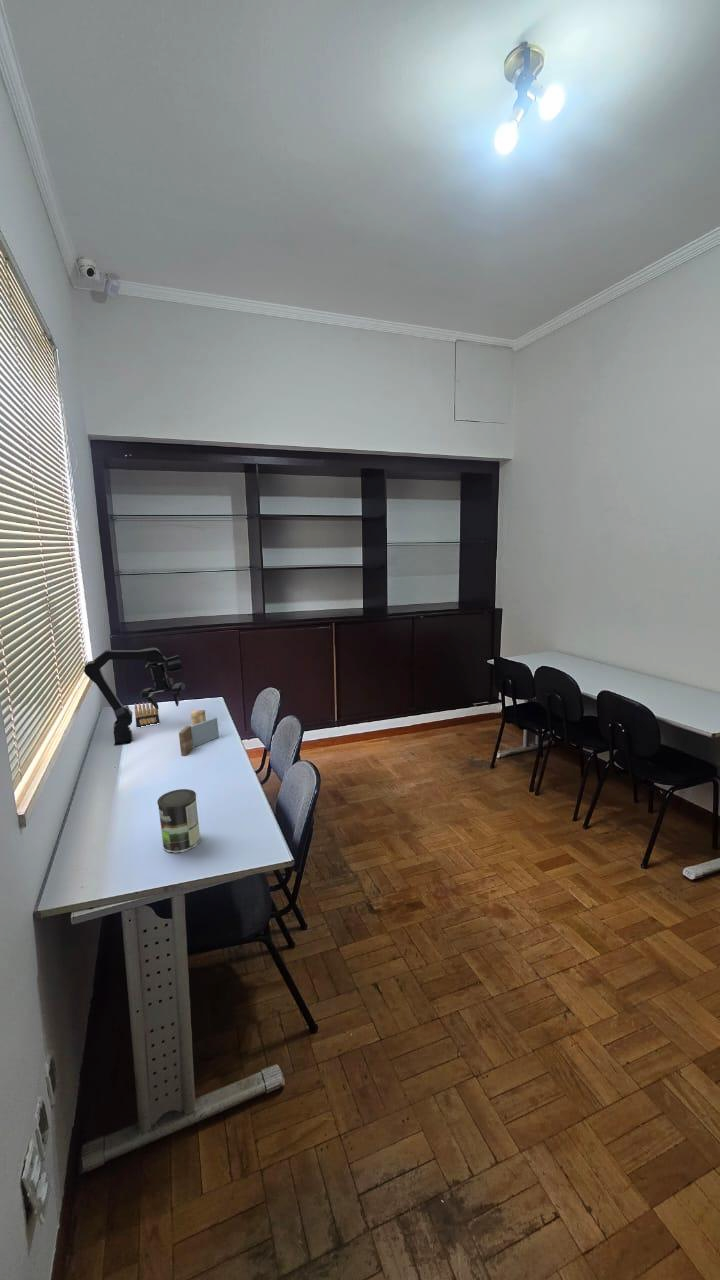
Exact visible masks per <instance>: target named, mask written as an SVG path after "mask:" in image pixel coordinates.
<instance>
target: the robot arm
mask: <svg viewBox="0 0 720 1280" xmlns="http://www.w3.org/2000/svg"><path fill="white" fill-rule="evenodd" d="M110 660H113V661H114V660H122V661H123V660H125V661H126V660H131V661H132V660H138V661H139V660H140V661H143V662H147V664H146V665H145V669H147V670H148V669H150V671H151V672H150V673H151V676H152V680H151V681H152V683H154V687H155V688H154V687H147V688H146V687H145V688H144V689H142V690H141V691H140V696H141V698H143V699H144V700H147V702H148V703H150V702H151V703H152V704H153V708H154V707H155V708H156V709H157V710H158V711H159V704H158V701H157V697H156V694H159V693H165V692H173V693H172V696H173V699H174V700H173V701H174V703H175V706H176V707H178V706H179V704H180V695H181V693H182V692H183V691H184V690H185V689H186V683H184V682H178V683H177V682H176V683H175V684H174V678H173V677H169V676H168V674H167V673H166V672H169V673H174V672H178V671H179V672H180V671H182V670H183V666H182V663H181V660H180V657H179V655H174V656H172V657H168V658H166V656H164V655H163V654H162V653H161V651H160V649H158V648H157V647H150V648H149V647H148V648H144V649H135V650H132V649H127V650H126V649H124V650H123V649H117V650H116V649H105V650H104V651H102V653H100V654H99V656H97V657H96V658H95V659H94V660H91V661H88V662H86V664H85V665H84V668H83V671H84V674H85V675H86V676H87V678H89V680H91V681H92V682H93V683H95V685H96V686H97V687H98V689H99V691H100V692H101V694H102V695H103V697H104V698H105V699H106V701H107V702H108V705H109V706H110V707H111V708H112V710H113V712H114V715H115V718H116V720H115V721H114V723H113V732H112V733H113V738H114V744H113V745H114V746H118V745H127V744H128V745H129V744H131V742H132V740H133V731H132V729H131V727H130V726H131V724H132V723H133V711H132V710H131V709H130V708H129V705H125V706H124V705H123V704H122V703H121V701H120V699H119V698H118V696H117V694H115V692H114V691H113V689H112V688H111V686H110V685H109V683H108V681H107V680H106V679H105V676H104V673H103V669H102V667H104V665H106V664H108V662H109V661H110Z"/></svg>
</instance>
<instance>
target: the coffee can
mask: <svg viewBox="0 0 720 1280" xmlns="http://www.w3.org/2000/svg"><path fill="white" fill-rule="evenodd" d="M197 804H198V803H197V793H196V792H195V791H194V790H192V789H188V788H183V789H182V788H181V789H176V790H175V789H173V790H171V791H168V792H166V793H164V794H162V795H161V796H159V798H158V799H157V805H158V813H159V821H160V822H159V823H160V830H161V838H162V848H164V849H163V851H165V850H166V851H165V852H167V851H168V852H167V853H169V852H173V853H172V854H179V853H178V852H181V853H185V852H188V851H190V850H189V849H191V848H192V849H194V848H196V847H197V846H198V845H199V844H200V842H201V832H200V826H199V825H200V823H199V817H198V807H197V806H198V805H197ZM198 843H199V844H198ZM197 844H198V845H197ZM196 845H197V846H196ZM195 846H196V847H195ZM193 847H194V848H193ZM192 849H191V850H192ZM187 850H188V851H187ZM184 851H185V852H184Z"/></svg>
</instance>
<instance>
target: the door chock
mask: <svg viewBox="0 0 720 1280" xmlns="http://www.w3.org/2000/svg"><path fill="white" fill-rule="evenodd" d="M206 717H207V716H206V710H205V709H204V710H203V709H197V710H196V709H195V710H194V709H193V711H191V712H190V720H191V726H192V725H195V724H198V723H201V722H204V721H207V718H206Z"/></svg>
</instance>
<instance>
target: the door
mask: <svg viewBox="0 0 720 1280" xmlns="http://www.w3.org/2000/svg"><path fill="white" fill-rule="evenodd" d="M190 726H191V732H192V741H193V748H194V747H197V746H200V745H203V744H205V743H208V742H211V741H213V740H216V739H218V738H220V735H219V733H220V732H219V724H218V717H213V718H210V719H206V721H204V722H201V723H198V724H195V725H192V724H191V725H190Z"/></svg>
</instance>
